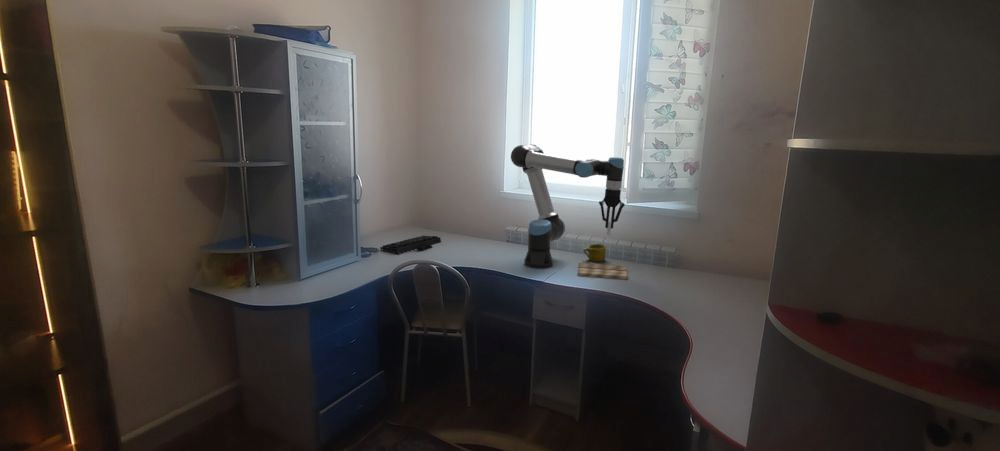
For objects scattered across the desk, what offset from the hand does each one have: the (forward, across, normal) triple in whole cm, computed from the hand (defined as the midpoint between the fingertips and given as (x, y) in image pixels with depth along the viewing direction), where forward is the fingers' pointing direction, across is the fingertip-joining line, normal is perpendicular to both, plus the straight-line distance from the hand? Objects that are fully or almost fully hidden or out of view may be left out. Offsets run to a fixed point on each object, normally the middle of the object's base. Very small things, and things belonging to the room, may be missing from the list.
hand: (608, 234), depth 244 cm
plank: (+19, -2, -1) cm, 19 cm away
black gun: (+24, -110, +19) cm, 114 cm away
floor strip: (+19, -2, -10) cm, 21 cm away
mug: (+19, -5, +16) cm, 25 cm away
